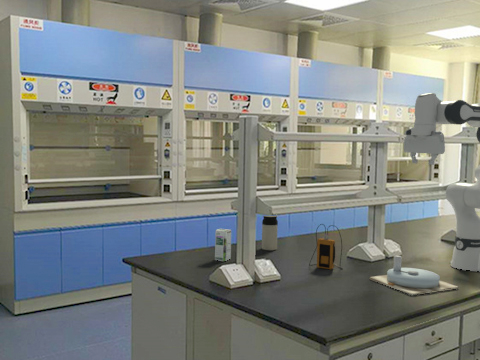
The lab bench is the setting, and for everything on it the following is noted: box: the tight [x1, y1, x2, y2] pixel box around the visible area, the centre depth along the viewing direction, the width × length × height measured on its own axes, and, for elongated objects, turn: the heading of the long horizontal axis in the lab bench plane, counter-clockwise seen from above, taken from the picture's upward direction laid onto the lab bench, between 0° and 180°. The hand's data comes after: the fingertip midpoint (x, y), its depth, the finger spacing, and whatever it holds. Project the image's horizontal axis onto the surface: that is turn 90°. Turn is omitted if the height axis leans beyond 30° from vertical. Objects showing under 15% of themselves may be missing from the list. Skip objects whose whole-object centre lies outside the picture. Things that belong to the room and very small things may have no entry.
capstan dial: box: [386, 255, 441, 288], centre depth 204 cm, size 20×20×9 cm
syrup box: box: [214, 228, 232, 262], centre depth 238 cm, size 6×6×14 cm
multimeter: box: [308, 223, 343, 270], centre depth 229 cm, size 15×10×20 cm
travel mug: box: [261, 215, 279, 252], centre depth 263 cm, size 8×8×18 cm
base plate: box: [369, 274, 459, 295], centre depth 204 cm, size 24×24×2 cm
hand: (422, 164), depth 216 cm, fingers open, 8 cm apart
